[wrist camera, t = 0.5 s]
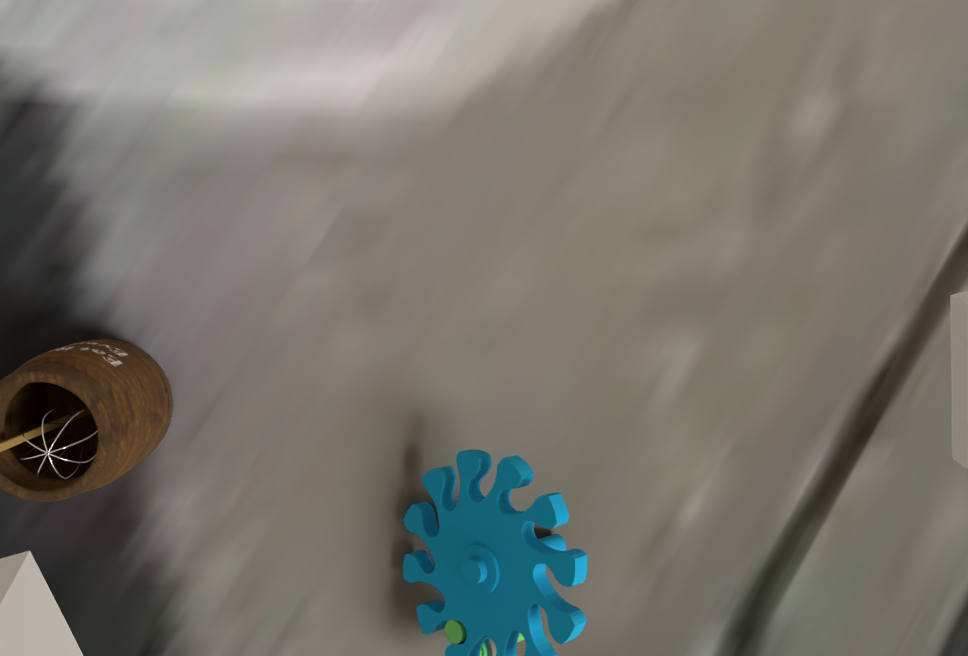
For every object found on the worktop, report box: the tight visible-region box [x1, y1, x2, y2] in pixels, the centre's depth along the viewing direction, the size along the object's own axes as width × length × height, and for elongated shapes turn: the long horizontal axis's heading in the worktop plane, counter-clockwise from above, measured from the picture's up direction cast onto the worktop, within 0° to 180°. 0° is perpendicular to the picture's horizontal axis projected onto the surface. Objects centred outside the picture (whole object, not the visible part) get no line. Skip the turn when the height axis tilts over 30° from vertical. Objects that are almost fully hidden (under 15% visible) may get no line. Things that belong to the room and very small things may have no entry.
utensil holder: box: [0, 339, 173, 502], centre depth 33 cm, size 6×6×12 cm
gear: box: [403, 450, 587, 656], centre depth 38 cm, size 11×6×10 cm
